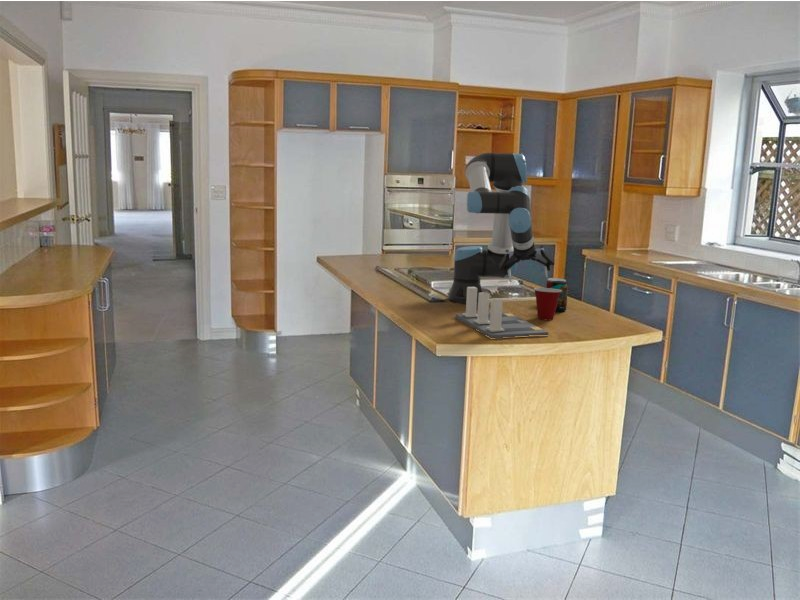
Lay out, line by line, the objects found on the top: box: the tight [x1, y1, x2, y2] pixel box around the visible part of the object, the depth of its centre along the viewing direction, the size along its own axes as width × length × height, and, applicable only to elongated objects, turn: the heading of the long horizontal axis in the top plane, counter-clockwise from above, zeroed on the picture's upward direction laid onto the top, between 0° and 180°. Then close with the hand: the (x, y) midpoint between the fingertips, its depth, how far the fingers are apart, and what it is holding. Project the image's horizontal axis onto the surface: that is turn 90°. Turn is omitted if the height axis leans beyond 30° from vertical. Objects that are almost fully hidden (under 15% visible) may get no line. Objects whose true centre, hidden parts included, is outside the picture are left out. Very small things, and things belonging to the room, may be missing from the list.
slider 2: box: [474, 291, 491, 324], centre depth 257 cm, size 4×5×11 cm
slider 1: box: [462, 287, 478, 317], centre depth 268 cm, size 4×5×11 cm
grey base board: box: [455, 311, 549, 339], centre depth 261 cm, size 33×22×2 cm, turn 17°
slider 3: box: [486, 297, 504, 332], centre depth 247 cm, size 4×5×11 cm
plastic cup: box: [533, 287, 562, 321], centre depth 275 cm, size 11×11×12 cm
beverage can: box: [550, 281, 569, 313], centre depth 290 cm, size 7×7×12 cm
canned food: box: [545, 277, 567, 288], centre depth 302 cm, size 8×8×11 cm
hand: (528, 276), depth 268 cm, fingers open, 13 cm apart
